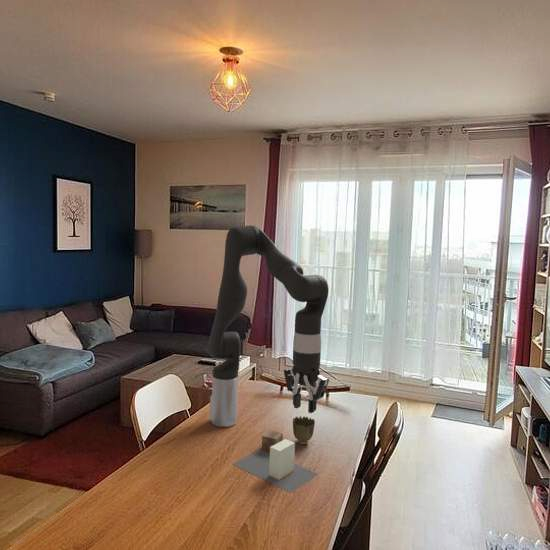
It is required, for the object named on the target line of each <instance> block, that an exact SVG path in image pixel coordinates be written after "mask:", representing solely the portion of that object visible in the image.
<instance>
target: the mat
mask: <svg viewBox="0 0 550 550" xmlns="http://www.w3.org/2000/svg"><path fill="white" fill-rule="evenodd" d="M232 465H233V466H235V467H237V468H238V469H241V470H243V471H245V472H248V473H249V474H252V475H253V476H255V477H258V478H260V479H261V480H264V481H266V482H268V483H270V484H272V485H273V486H276V487H278V488H280V489H282V490H284V491H285V492H288V493H290V494H291V493H293V492H295V491H296V490H297V489H299V488H300V487H302V486H304V485H305V484H306V483H308V482H309V481H311V479H313V478H315V477H317V476H318V475H319V473H317V472H315V471H312V470H310V469H308V468H306V467H303V466H302V465H299V464H296V463H294V471H293V472H291V473H290V474H288V475H286V476H285V477H283V478H282V479H280V480H277V479H275V478H273V477H271V476H269V465H270V451H266V450H262V448H260V449H259V450H257V451H255V452H253V453H251V454H248V455H247V456H245V457H244V458H241V459H240V460H237V461H235V462H233V463H232Z"/></svg>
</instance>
